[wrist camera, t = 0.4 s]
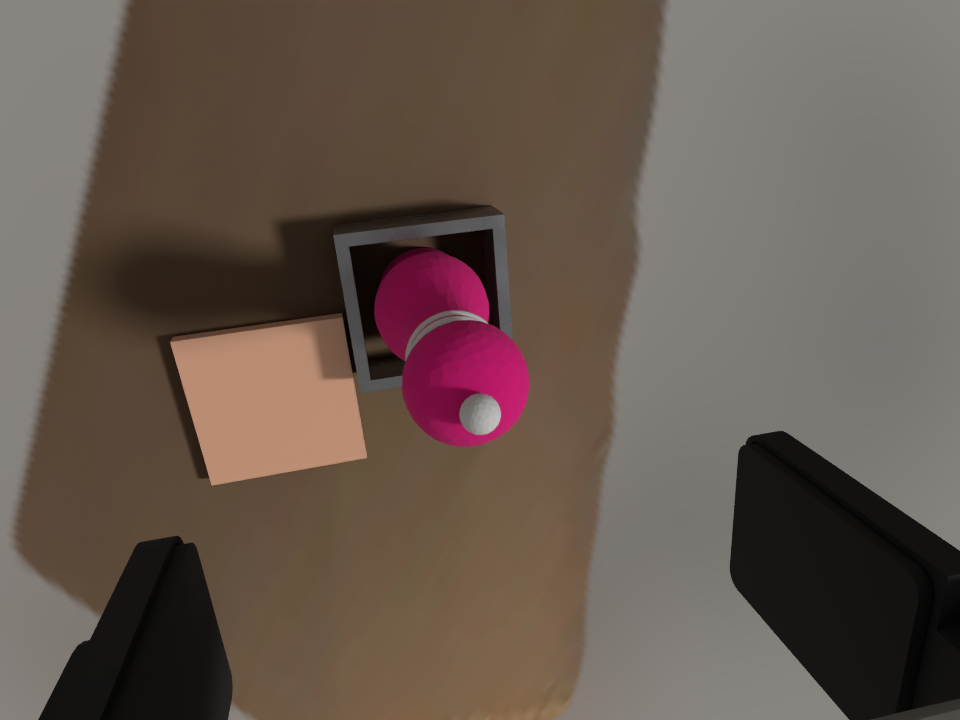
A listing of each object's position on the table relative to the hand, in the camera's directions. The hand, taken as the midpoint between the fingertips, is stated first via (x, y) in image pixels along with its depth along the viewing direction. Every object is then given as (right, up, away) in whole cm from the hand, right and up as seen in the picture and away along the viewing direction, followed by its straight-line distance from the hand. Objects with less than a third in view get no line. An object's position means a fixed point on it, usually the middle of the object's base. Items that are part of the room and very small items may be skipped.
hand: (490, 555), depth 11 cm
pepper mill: (-4, +8, +34) cm, 35 cm away
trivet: (-15, +1, +35) cm, 38 cm away
